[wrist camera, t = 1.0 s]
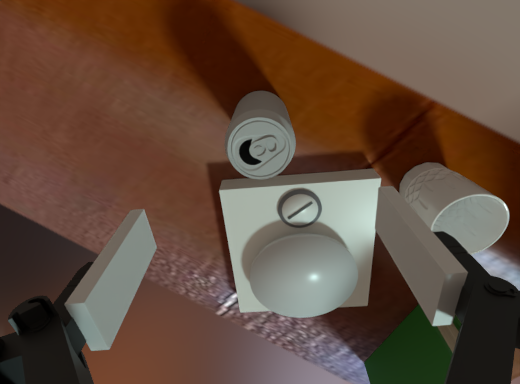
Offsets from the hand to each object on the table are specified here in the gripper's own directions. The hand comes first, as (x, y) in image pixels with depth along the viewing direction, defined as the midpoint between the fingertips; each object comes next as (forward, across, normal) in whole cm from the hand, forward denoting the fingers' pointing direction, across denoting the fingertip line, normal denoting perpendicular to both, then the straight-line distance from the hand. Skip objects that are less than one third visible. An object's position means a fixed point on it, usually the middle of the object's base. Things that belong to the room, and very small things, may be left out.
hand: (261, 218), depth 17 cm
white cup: (+22, -21, +11) cm, 32 cm away
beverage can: (+22, 0, 0) cm, 22 cm away
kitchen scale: (+22, -4, +19) cm, 29 cm away
